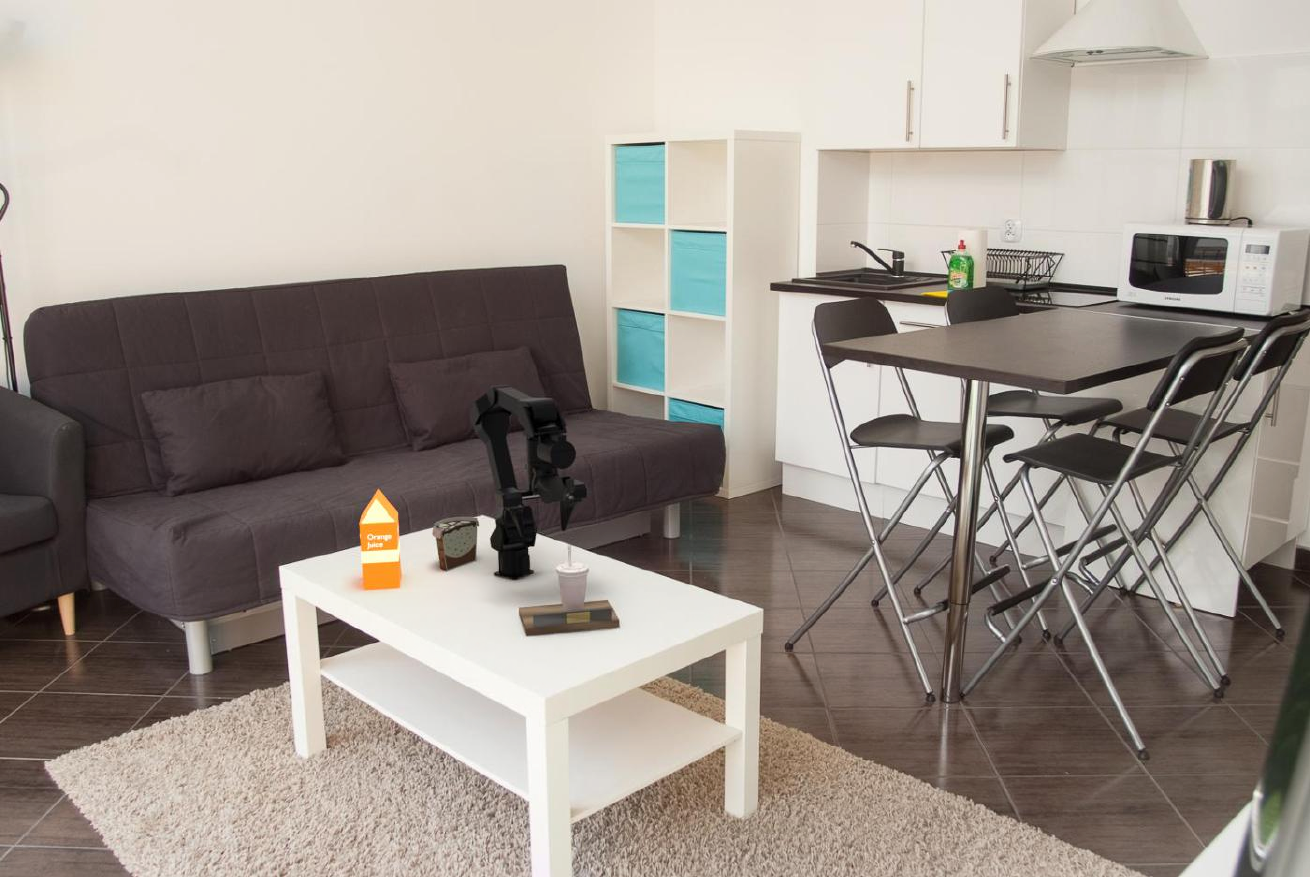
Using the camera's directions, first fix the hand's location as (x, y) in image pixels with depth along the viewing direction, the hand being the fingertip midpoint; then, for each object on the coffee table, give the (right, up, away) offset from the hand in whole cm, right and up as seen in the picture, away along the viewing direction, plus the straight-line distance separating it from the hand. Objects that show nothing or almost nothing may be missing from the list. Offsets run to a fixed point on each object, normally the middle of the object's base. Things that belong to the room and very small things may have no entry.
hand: (543, 533), depth 242 cm
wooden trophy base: (+6, -16, -14) cm, 22 cm away
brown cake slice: (-23, -9, +23) cm, 34 cm away
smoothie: (+7, -15, -14) cm, 22 cm away
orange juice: (-36, -12, +11) cm, 39 cm away
